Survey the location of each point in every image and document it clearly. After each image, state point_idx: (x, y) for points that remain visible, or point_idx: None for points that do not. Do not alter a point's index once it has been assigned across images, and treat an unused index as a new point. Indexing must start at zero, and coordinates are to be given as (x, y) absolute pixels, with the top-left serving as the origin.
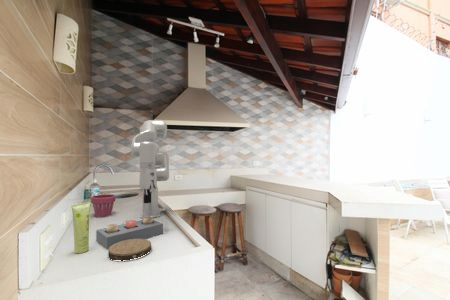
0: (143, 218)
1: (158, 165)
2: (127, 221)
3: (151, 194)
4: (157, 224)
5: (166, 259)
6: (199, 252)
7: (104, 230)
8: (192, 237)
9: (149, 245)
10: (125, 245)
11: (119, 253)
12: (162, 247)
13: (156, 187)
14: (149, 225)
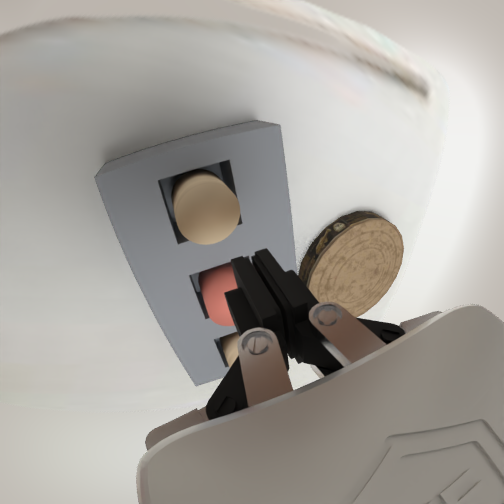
0: (208, 242)
1: None
2: (224, 320)
3: (332, 303)
4: (274, 158)
5: (429, 195)
6: (448, 115)
7: (217, 367)
8: (371, 49)
9: (395, 228)
10: (349, 288)
11: (380, 297)
12: (380, 177)
13: (479, 307)
14: (264, 203)
